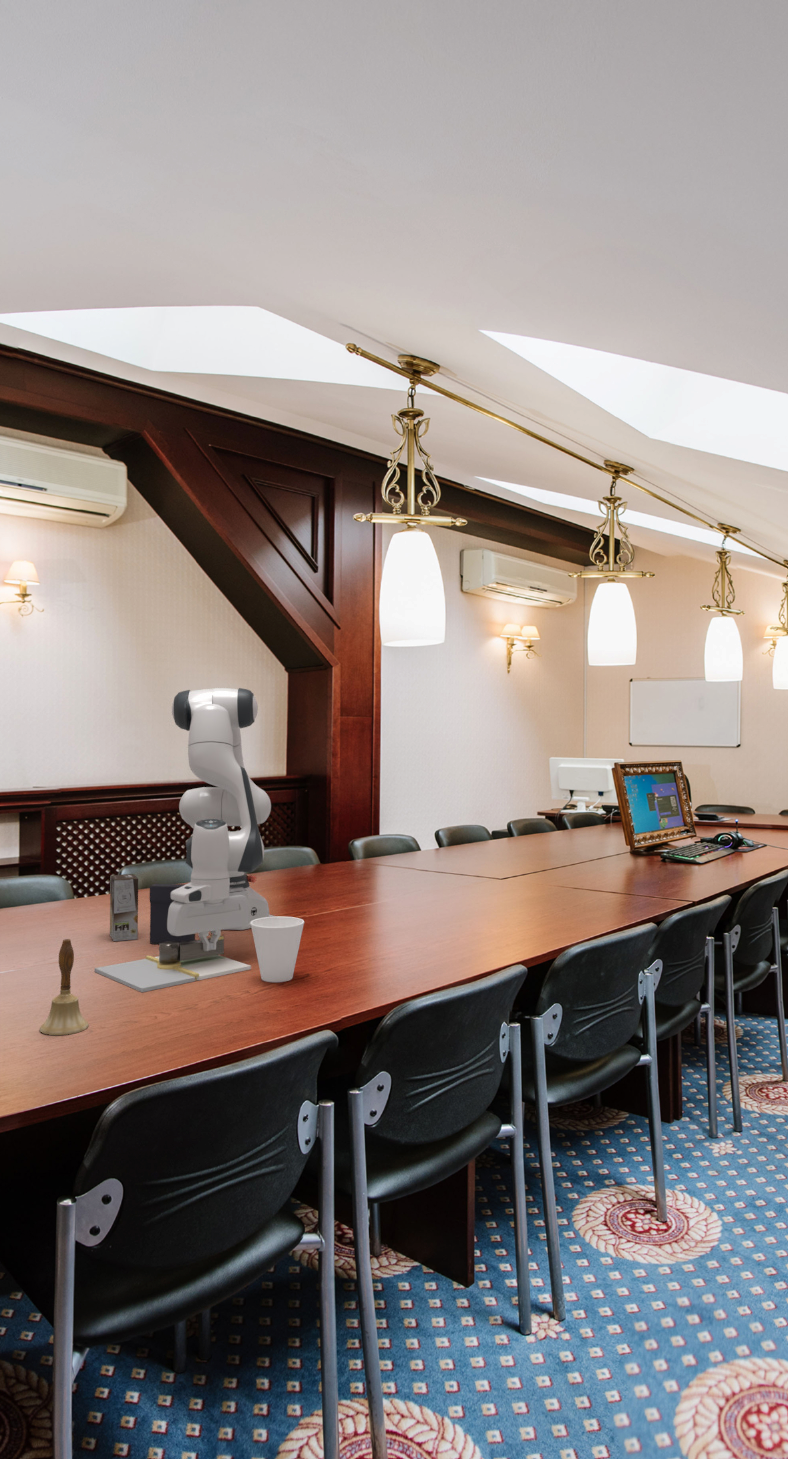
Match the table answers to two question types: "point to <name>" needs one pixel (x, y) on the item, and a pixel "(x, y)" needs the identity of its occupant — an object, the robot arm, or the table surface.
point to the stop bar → (187, 950)
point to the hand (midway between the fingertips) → (209, 950)
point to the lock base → (169, 971)
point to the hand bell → (65, 1000)
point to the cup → (277, 946)
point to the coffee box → (123, 907)
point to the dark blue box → (163, 914)
